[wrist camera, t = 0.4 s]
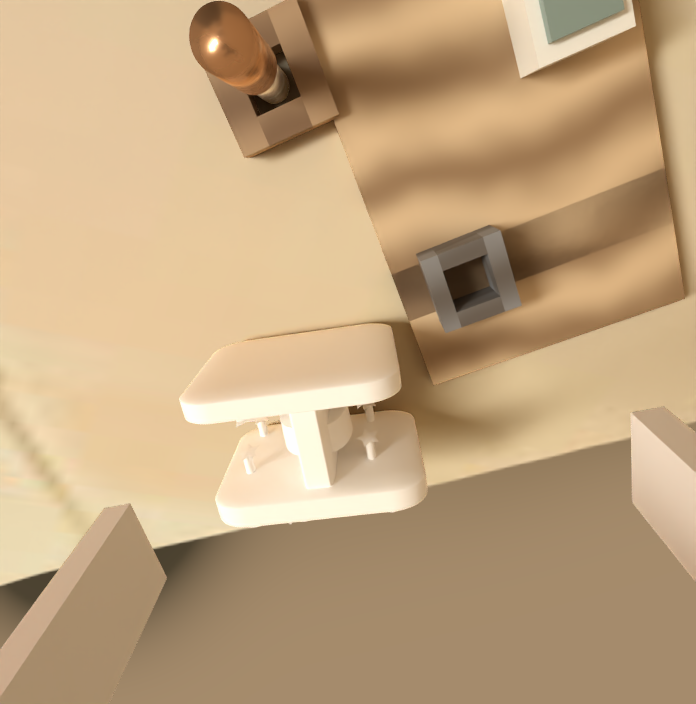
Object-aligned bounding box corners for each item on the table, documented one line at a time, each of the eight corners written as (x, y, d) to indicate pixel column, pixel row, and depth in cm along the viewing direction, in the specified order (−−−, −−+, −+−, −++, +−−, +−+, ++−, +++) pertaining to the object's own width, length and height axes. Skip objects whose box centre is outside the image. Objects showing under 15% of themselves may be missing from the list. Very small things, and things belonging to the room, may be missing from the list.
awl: (246, 73, 32) (177, 19, 20) (283, 54, 32) (235, -12, 20) (264, 115, 33) (208, 88, 21) (300, 98, 33) (265, 60, 21)
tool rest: (204, 53, 32) (194, 46, 30) (298, 5, 31) (294, -5, 29) (250, 157, 34) (244, 157, 32) (340, 116, 33) (339, 114, 31)
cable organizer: (400, 313, 38) (415, 372, 28) (413, 426, 42) (432, 517, 31) (221, 339, 40) (168, 405, 29) (250, 446, 43) (213, 540, 33)
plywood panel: (282, -17, 30) (270, -44, 26) (598, -181, 27) (638, -238, 23) (431, 379, 40) (439, 402, 36) (675, 294, 37) (712, 309, 33)
